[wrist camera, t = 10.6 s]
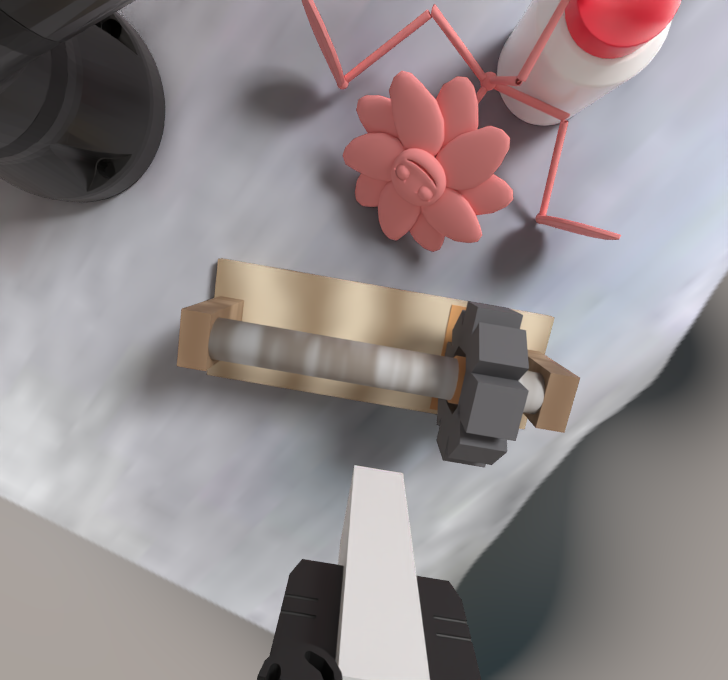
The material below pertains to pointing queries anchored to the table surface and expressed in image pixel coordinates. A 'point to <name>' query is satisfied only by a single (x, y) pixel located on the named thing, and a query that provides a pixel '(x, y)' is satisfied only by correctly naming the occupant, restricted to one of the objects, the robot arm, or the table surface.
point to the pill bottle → (583, 51)
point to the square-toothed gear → (485, 386)
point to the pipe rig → (352, 342)
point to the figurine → (439, 144)
